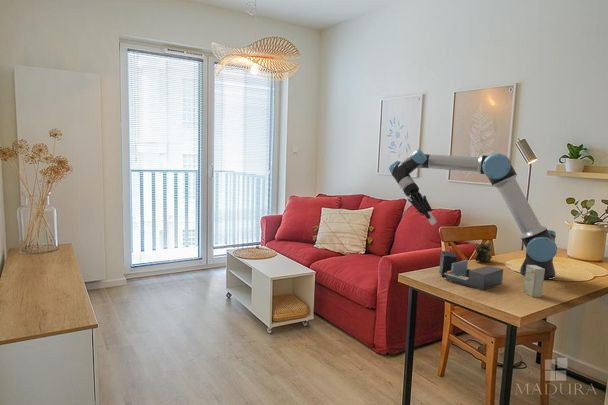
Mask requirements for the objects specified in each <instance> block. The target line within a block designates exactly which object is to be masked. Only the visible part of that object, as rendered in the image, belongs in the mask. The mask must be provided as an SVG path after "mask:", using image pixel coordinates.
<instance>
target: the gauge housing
mask: <svg viewBox="0 0 608 405" xmlns="http://www.w3.org/2000/svg"><path fill="white" fill-rule="evenodd" d="M444 274H446V277H445V281H450V282H453V283H456V284H460V285H462V286H466V287H470V288H473V289H476V290H480V291H486V290H488V289H492V288H495V287H498V286H501V285H503V275H504V268H500V267H496V266H492V265H486V266H481V267H478V268H474V269H470V268H467V274H465V275H458V274H454V273H447V272H446V273H444ZM467 276H468V277H467Z"/></svg>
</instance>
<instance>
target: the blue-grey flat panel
mask: <svg viewBox="0 0 608 405" xmlns="http://www.w3.org/2000/svg"><path fill="white" fill-rule="evenodd" d="M468 262H469V260H467V259H464V260H461V261H457V262H456V263H452V267H451V271H447V273H450V272H451V273H454V274H458V275H461V276H466V275H465V274H467V269H468Z"/></svg>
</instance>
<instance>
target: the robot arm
mask: <svg viewBox="0 0 608 405" xmlns="http://www.w3.org/2000/svg"><path fill="white" fill-rule="evenodd" d="M416 169H435V170H448V171H459V172H460V171H461V172H475V173H476V172H477V173H479V174H480V175H485V176H486V177H487V178H488V180H489V183H490V184H491V186H492V187H495V188H497V190H498V192H499V193H500V195H501V197H502V200H503V201H504V203H505V204H506V206H507V208H508V210H509V212H510V214H511V216H512V217H513V220H514V221H515V223H516V225H517V227H518V228H519V230H520V232H521V235H520V239H521V242H522V243H523V245H524V247H525V249H526V250H525V258H524V260H523V262H522V264H521V266H520V270H519V272H520V274H521V275H523V276H525V274H526V267H527V265H537V266H539V267H541V268H543V269H545V273H544V280H550V279H549V278H553V277H555V278H556V270H555V266H554V258H555V256H556V255H557V252H558V246H557V244H556V237H557V236H556V231H555V230H552V229H551V230H550V229H548V228H547V227H546V226H543V225H542V224H541V223H540V222H539V219H538V217H537V216H536V214H535V212H534V210H533V209H532V207H531V205H530V202H529V201H528V200H527V197H526V196H525V194H524V192H523V190H522V189H521V186H520V184H519V183H518V181H517V180H516V178H517V176H518V174H517V173H516V170H515V168H514V167H513V165H512V162H511V160H510V158H509V157H508V156H506V155H505V154H503V153H498V152H496V153H492V154H490V155H483V154H482V155H481V156H466V155H465V156H464V155H448V154H447V155H444V154H428V153H426V154H425V153H424V151H422V150H421V149H419V148H418V149H415V150H414V151H412V153H411V154H409V155H408V156H407V157H405V158H404V159H403V160H402V161H400V160H395V161H394V162H392V163H390V165H389V167H388V171H389V172H390V174H391V176H392V177H393V179H394V180H395V181H396V183H397V184H398V185H399V187H400V189H401V190H402V192H403V193H404V194H405V196H406V197H407V201H408V203H411V205H412V206H413V207H414V208H415V209H416V211H417V212H419V214H421V216H425V218H426V219H427V221H428V222H429V223H430V225H431V226H434V225H435V224H436V223H437V222H438V221H437V219H436V217H435V216H434V215H433V213H432V212H431V211H433V209H432V207H431V205H430V203H429V202H428V199H427V196H426V195H422V193H421V192H420V188H419V186H418V184H417V183H416V182H415V180H414V179H413V177H412V176H411V175H410V174H411V173H412V172H414V171H415V170H416Z"/></svg>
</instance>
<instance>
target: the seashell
mask: <svg viewBox="0 0 608 405" xmlns="http://www.w3.org/2000/svg"><path fill="white" fill-rule="evenodd" d="M492 246H493V245H492V243H491V242H488V243H479V244H477V245H476V246H475V251H476V256H475V259H474V260H475V262H476V261H477V262H484V263H487V262H490V261H491V259H492V258H493V257H492V253H491V252H492V251H493V249H492Z"/></svg>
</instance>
